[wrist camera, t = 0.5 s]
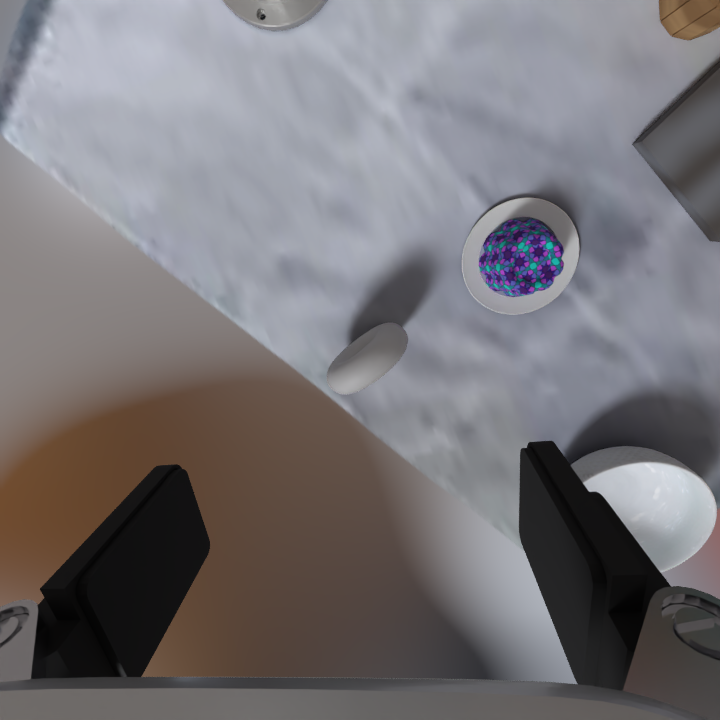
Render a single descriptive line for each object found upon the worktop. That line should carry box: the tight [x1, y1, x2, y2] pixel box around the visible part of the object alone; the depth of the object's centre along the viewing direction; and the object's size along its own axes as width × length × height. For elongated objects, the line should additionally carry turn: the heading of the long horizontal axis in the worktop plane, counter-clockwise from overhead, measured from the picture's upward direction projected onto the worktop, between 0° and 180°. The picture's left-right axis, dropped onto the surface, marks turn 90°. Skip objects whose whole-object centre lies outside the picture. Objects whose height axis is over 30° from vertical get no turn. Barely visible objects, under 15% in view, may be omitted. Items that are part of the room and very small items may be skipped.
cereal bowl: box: [570, 446, 717, 573], centre depth 47 cm, size 17×17×7 cm
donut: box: [327, 322, 408, 394], centre depth 41 cm, size 10×3×10 cm, turn 128°
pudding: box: [462, 197, 580, 315], centre depth 39 cm, size 12×12×5 cm
